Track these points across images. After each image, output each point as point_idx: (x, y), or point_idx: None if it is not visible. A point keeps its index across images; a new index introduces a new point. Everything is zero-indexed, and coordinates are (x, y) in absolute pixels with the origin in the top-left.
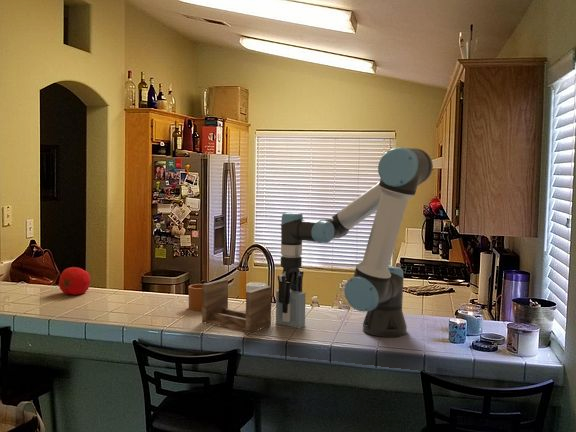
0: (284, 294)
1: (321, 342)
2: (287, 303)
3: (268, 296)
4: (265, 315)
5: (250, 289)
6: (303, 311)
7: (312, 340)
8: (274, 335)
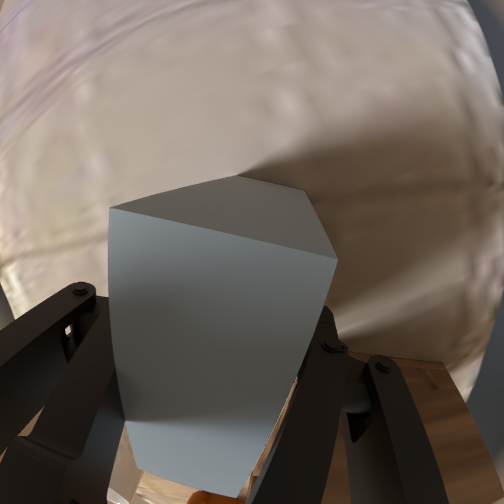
0: (419, 429)
1: (464, 35)
2: (337, 343)
3: (348, 483)
4: None
5: (133, 493)
6: (237, 186)
7: (465, 71)
8: (463, 264)
